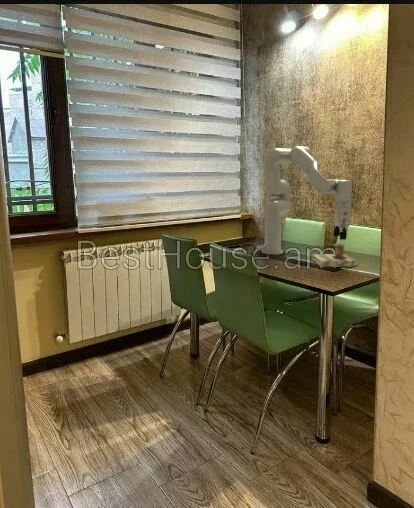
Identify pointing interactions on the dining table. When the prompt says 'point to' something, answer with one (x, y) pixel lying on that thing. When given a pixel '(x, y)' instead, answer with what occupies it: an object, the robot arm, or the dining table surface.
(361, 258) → the dining table surface
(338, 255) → the bobbin
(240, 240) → the dining table surface
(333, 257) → the socket board
